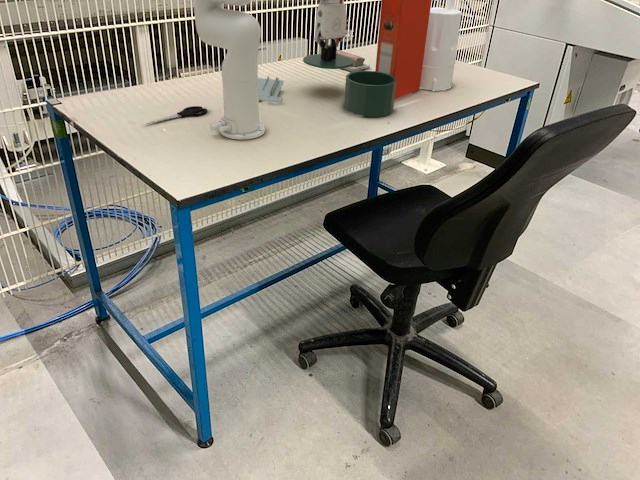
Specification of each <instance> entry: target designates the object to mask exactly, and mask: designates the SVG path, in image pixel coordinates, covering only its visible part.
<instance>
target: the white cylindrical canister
mask: <svg viewBox="0 0 640 480" xmlns="http://www.w3.org/2000/svg"><path fill="white" fill-rule="evenodd" d="M433 1H434V2H435V1H436V2H437V1H438V0H433ZM455 4H456V0H447V4H446V7H439V6H438V7H436V6H435V7H434V6H433V7H431V9H430V16H429V23H428V30H427V37H426V45H425V52H424V59H423V66H422V73H421V81H420V88H419V90H427V91H432V92H436V91H442V92H445V91H446V90H448V89H451V88H452V86H453V77H454V73H455V72H454V70H455V65H456V62H457V61H456V59H457V53H458V43H459V35H460V27H461V20H462V11H461V10H458V9H456V8H455V6H456V5H455Z"/></svg>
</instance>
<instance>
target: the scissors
mask: <svg viewBox="0 0 640 480" xmlns="http://www.w3.org/2000/svg"><path fill="white" fill-rule="evenodd" d="M206 114H208V109H207V108H203V107H202V106H201V105H198V106H197V105H196V106H195V105H194V106H187V107H185V108H183V110H182V111H179V112H177V113H176V114H174V115H173V114H172V115H170V116H166V117H164V118H160V119H156V120H153V121H150V122H147V123H145V125H148V124H154V123H157V122H162V121H163V122H164V121H167V120H171V119H176V118H182V119H183V118H188V117H189V118H191V117H195V118H196V117H201V116H204V115H206Z"/></svg>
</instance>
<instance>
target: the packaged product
mask: <svg viewBox="0 0 640 480" xmlns="http://www.w3.org/2000/svg"><path fill="white" fill-rule="evenodd" d="M336 55H340V56H344V57H347V58H350V59H352V60H353V65H352V66H350V67H346V68H341V69H342V70H345V71H349V72H350V73H352V72H356V71H364V70H366V69H367V70H368V69H370V68H371V65H370V64H366V63H365V61H366V58H364V57H362V56H359V55H356V54H352V53H350V52H346V51H343V50H340V49H337V51H336Z"/></svg>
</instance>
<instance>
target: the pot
mask: <svg viewBox="0 0 640 480" xmlns="http://www.w3.org/2000/svg"><path fill="white" fill-rule="evenodd" d="M396 82H397V81H396V78H395V77H393V76H392V75H389V74H386V73H383V72H377V71H375V70H359V71H356V72H349V73H347V74H346V75H345V84H344V85H345V86H344V99H343V108H344V109H345V110H346V111H347V112H348V113H351V114H354V115H357V116H361V118H369V119H377V118H378V119H379V118H385V117H388V116H390V115H391V114H392V113H393V111H394V106H395V105H394V104H395V99H394V98H395V90H396Z"/></svg>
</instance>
